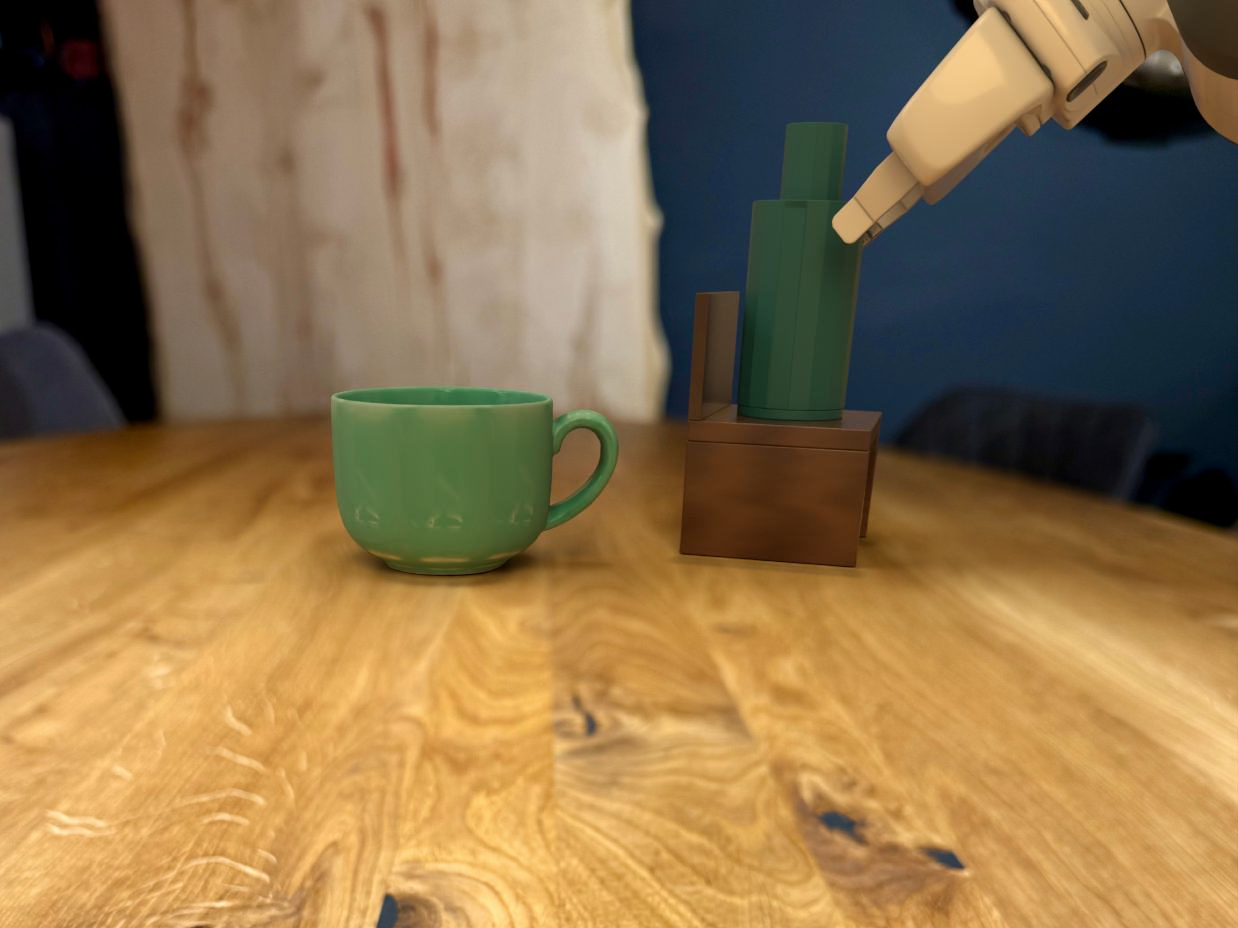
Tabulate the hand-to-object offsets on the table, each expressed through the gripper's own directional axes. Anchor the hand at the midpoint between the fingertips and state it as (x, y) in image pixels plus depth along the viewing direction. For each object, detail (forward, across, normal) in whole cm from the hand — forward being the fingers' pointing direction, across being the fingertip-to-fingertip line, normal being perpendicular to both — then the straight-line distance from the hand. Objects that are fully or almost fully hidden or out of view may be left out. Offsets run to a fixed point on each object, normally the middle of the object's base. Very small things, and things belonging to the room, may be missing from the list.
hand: (845, 237), depth 78 cm
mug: (+26, +13, 0) cm, 30 cm away
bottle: (+9, -1, +5) cm, 10 cm away
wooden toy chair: (+14, 0, +11) cm, 18 cm away
